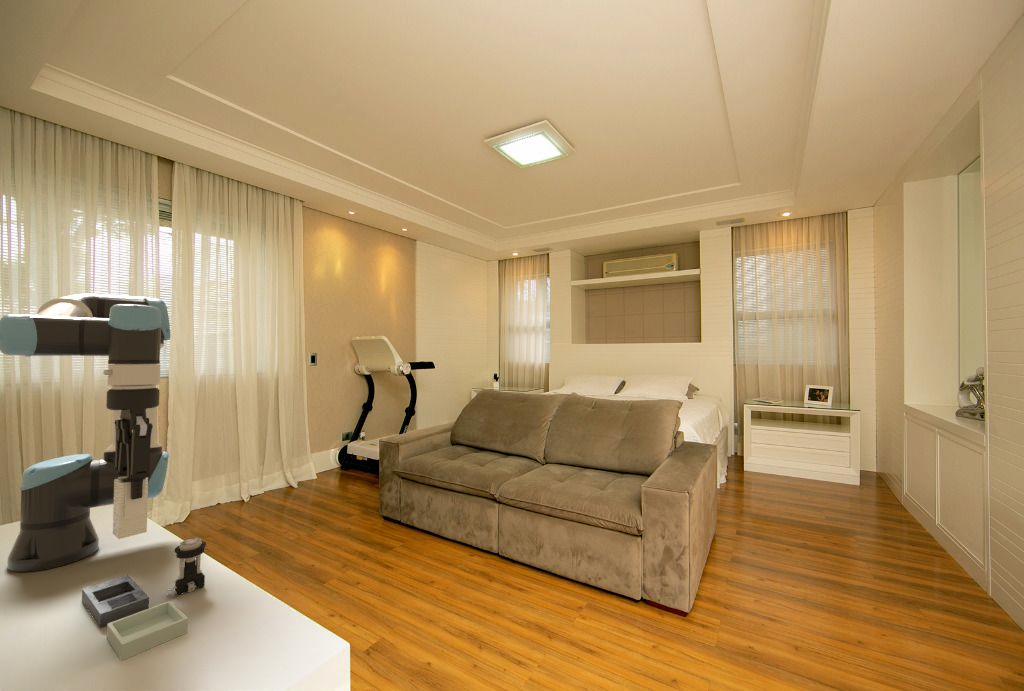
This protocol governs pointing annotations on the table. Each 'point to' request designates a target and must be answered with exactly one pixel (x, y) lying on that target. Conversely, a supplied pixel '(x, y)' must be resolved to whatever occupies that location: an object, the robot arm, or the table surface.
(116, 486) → the block
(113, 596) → the dark gray slotted holder
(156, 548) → the table surface
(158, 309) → the robot arm
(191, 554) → the push button
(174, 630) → the parts tray
